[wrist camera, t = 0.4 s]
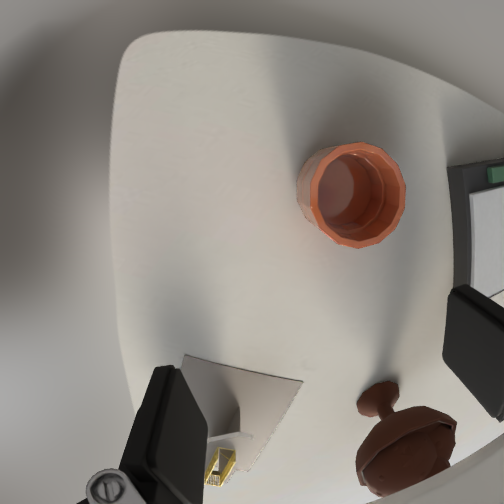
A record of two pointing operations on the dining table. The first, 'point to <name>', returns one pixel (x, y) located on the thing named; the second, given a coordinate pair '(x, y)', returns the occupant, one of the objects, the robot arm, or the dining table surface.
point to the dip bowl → (352, 193)
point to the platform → (236, 413)
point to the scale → (478, 225)
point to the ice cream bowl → (401, 442)
